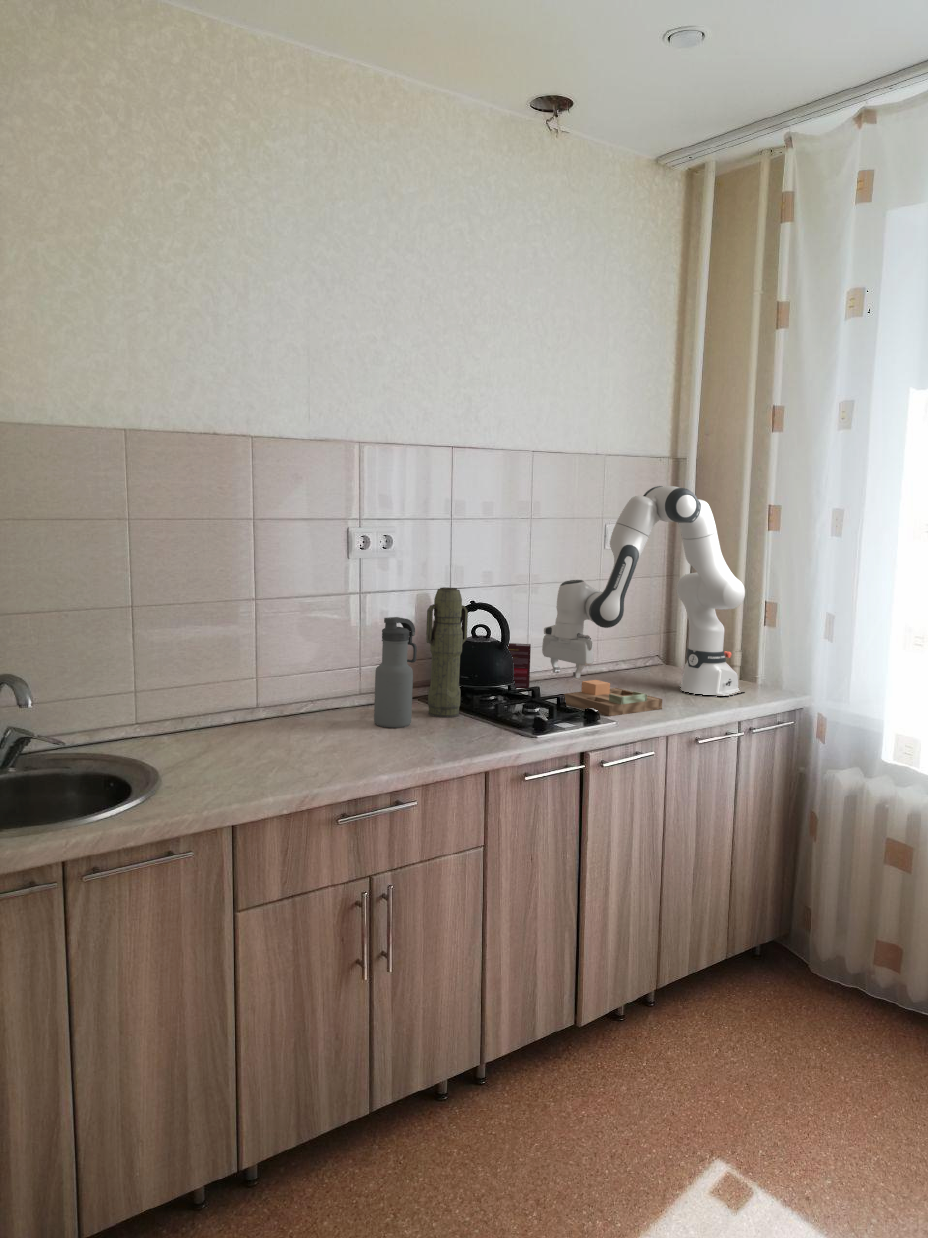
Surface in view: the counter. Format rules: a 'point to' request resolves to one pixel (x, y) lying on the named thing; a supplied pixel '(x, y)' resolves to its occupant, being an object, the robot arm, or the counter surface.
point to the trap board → (614, 702)
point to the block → (595, 687)
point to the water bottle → (395, 675)
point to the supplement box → (521, 663)
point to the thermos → (446, 651)
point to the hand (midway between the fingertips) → (566, 675)
